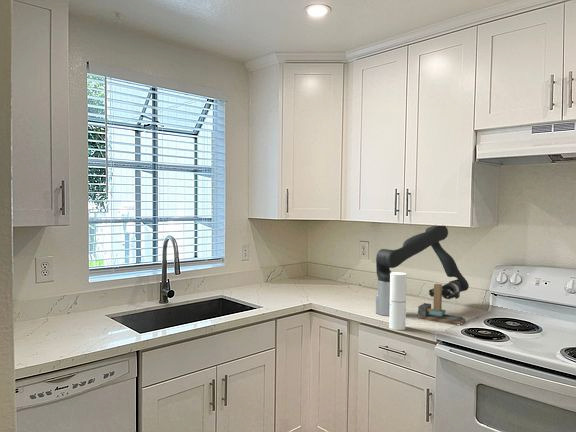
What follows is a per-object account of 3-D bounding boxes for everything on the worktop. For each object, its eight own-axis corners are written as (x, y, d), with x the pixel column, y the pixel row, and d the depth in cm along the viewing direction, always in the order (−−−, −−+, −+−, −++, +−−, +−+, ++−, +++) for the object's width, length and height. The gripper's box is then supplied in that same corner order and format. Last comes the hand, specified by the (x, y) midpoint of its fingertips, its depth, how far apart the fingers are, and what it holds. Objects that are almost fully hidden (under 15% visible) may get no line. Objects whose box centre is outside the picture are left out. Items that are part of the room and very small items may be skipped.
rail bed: (418, 318, 211) (418, 306, 211) (424, 314, 219) (424, 303, 218) (460, 325, 199) (460, 313, 199) (465, 321, 207) (465, 309, 206)
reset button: (424, 313, 213) (424, 308, 213) (426, 312, 215) (426, 307, 215) (430, 314, 211) (430, 309, 211) (432, 313, 213) (432, 308, 213)
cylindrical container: (398, 331, 190) (399, 275, 190) (385, 327, 196) (386, 273, 195) (408, 328, 195) (409, 273, 194) (396, 324, 200) (397, 271, 199)
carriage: (428, 314, 209) (429, 284, 209) (433, 311, 215) (434, 282, 214) (441, 316, 206) (442, 286, 205) (445, 313, 211) (446, 284, 211)
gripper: (436, 281, 230) (426, 286, 217) (463, 285, 221) (455, 290, 208) (435, 295, 230) (425, 301, 217) (463, 299, 222) (454, 305, 209)
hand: (440, 295), depth 213 cm, fingers open, 8 cm apart
